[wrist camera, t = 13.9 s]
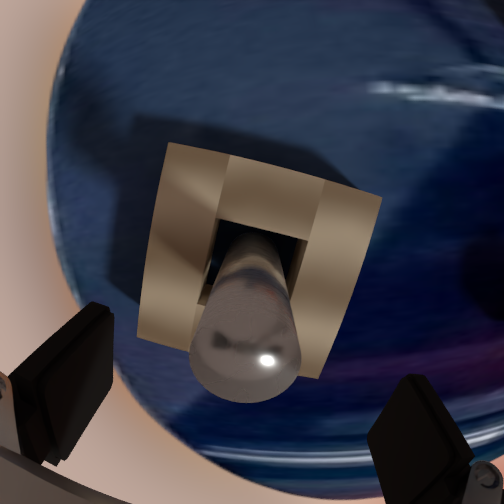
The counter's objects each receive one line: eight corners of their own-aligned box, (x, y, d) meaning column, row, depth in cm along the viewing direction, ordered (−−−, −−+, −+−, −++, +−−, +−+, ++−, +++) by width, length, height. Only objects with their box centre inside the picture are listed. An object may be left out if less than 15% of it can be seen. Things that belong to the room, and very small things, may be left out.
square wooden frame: (183, 146, 22) (168, 142, 18) (363, 193, 23) (382, 197, 19) (152, 314, 26) (136, 336, 22) (310, 351, 26) (318, 378, 22)
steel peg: (233, 226, 24) (199, 298, 10) (284, 238, 24) (316, 325, 10) (221, 275, 25) (182, 389, 11) (271, 287, 25) (282, 410, 11)
